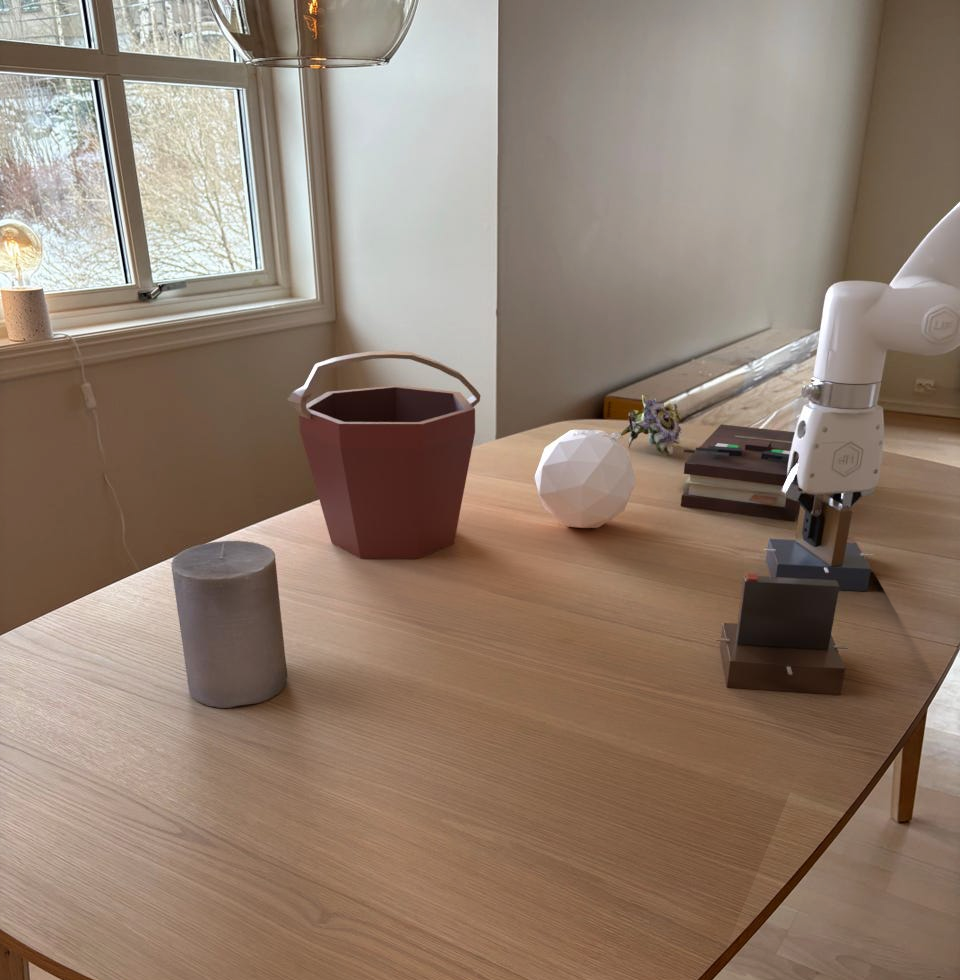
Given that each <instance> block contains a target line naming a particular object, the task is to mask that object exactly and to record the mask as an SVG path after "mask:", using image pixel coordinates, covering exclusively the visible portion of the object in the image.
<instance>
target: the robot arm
mask: <svg viewBox="0 0 960 980" xmlns="http://www.w3.org/2000/svg"><path fill="white" fill-rule="evenodd" d="M819 328H820V329H819V335H818V342H817V349H816V355H815V361H814V367H813V368H814V369H813V375H812V377H811V380H810V384H808V385H803V386H802V388H801V392H800V393H801V396H802V398H804V399H806V398H808V401H809V402H808V403H805V404H804V405H803V408H802V409H801V412H800V414H799V418H798V420H797V424H796V428H795V430H794V432H795V434H794V438H793V442H792V446H791V451H790V456H789V461H788V469H787V480H786V482H785V484H784V486H783V488H782V490H781V494H782V495H783V496H785V497H786V498H788V499H791V500H794V501H797V502H798V503H799V504H800V505H801V506H802V509H804V510H805V516H804V522H803V529H802V535H803V540H804V541H806V542H807V543H809V544H810V545H812V546H813V547H819V546H820V544H821V538H822V532H823V526H824V520H825V518H824V516H822V515H821V512H822V506H823V499H824V494H825V495H830V498H832V499H834V500H835V501H837V502H839V503H840V504H842V505H844V506H846V507H847V508H849V509H851V507H852V506H853V505H854V504H855V503H857V502H858V500H860V499H861V498H863V497H866V496H867V495H870V494H872V493H875V491H876V486H877V484H878V482H879V478H880V474H881V467H882V462H883V461H882V460H883V459H882V458H883V451H884V450H883V449H884V438H885V437H884V436H885V419H884V407H883V406H882V405H878V402H879V397H880V391H881V385H882V378H883V374H884V368H885V362H886V357H887V352H888V351H894V352H900V353H907V354H911V355H917V356H918V355H919V356H925V357H926V356H927V357H930V356H931V357H933V356H940V355H944V354H947V353H949V352H952V351H954V350H955V349H957V348H959V347H960V201H959V202H958V203H957V204H956V205H955V206H954V207H953V208H952V209H951V210H950V211H949V212H948V213H947V214H946V215H945V216H944V217H942V218H941V220H940V221H939V222H938V223H936V225H934V227H933V228H932V229H931V230H930V231H929V232H928V233H927V234H926V236H925V237H924V238H923V239H922V240H921V242H920V243H919V244H918V245H917V247H916V248H915V249H914V251H913V252H912V254H911V255H910V256H909V257H908V258H907V260H906V262H904V264H903V265H902V267H901V268H900V269H899V271H898V272H897V273H896V275H895V276H894V277H893V279H892V280H891V282H890V283H889V284H887V283H885V282H880V281H874V280H873V281H872V280H844V281H838V282H835V283H833V284H832V285H830V287H828V289H827V291H826V293H825V297H824V301H823V307H822V315H821V322H820V327H819ZM798 488H801V489H802V490H803V492H802V491H799V490H798Z"/></svg>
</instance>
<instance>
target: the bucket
mask: <svg viewBox="0 0 960 980" xmlns="http://www.w3.org/2000/svg"><path fill="white" fill-rule="evenodd" d="M378 359H398V360H400V359H401V360H411V361H413V362H417V363H420V364H422V365H426V366H429V367H431V368H433V369H436V370H439V371H441V372H443V373H445V374H446V375H448V376H451V377H453V378H455V379H457V380H459V382H461V384H462V385H463V386H464V387H466V388H467V389H468V391H469V392H470V394H471V396H469V397H468V398H466V397H465V396H464V395H463V394H462V393H461V392H460V391H452V390H445V389H443V390H442V389H432V388H426V387H425V388H424V387H415V386H405V385H396V384H395V385H385V386H375V387H373V386H372V387H365V388H354V389H344V390H342V389H341V390H332V391H326V392H324V393H323V394H321V395H319V396H318V397H315V398H313V400H311V401H308V400H309V398H311V396H312V395H313V394H314V393H315V390H316V388H317V387H318V384H319V382H320V381H321V379H322V377H323V375H324V373H325V371H328V370H331V369H334V368H338V367H341V366H345V365H349V364H352V363H357V362H362V361H370V360H378ZM286 401H287V402H288V404H289V405H290V406H291V408H292V409H293V410H294V411H295V413H296V414H297V415H298V421H299V422H298V423H299V432H300V437H301V440H302V444H303V446H304V450H305V454H306V457H307V461H308V464H309V467H310V472H311V475H312V479H313V482H314V486H315V489H316V493H317V496H318V499H319V503H320V507H321V510H322V514H323V518H324V521H325V525H326V528H327V531H328V535H329V538H330V542H331V544H333V545H335V546H336V547H338V548H340V549H342V550H343V551H346V552H347V553H349V554H351V555H353V556H355V557H357V558H358V559H362V560H363V559H364V560H365V559H366V560H367V559H368V560H418V559H420V558H422V557H425V556H427V555H429V554H432V553H434V552H437V551H439V550H441V549H444V548H446V547H448V546H449V547H450V546H451V545H454V543H455V541H456V540H455V539H456V534H457V529H458V525H459V519H460V513H461V508H462V503H463V497H464V493H465V489H466V488H465V487H466V482H467V477H468V472H469V467H470V461H471V457H472V452H473V451H472V450H473V446H474V440H475V435H476V408H475V407H476V406H477V404H478V403H480V401H481V394H480V393H479V391H478V390H477V389H476V388H475V387H474V386H473V384H471V383H470V381H468V379H466V378H465V377H464V375H463V374H461V372H460V371H458V370H456V369H454V368H451V367H449V366H447V365H445V364H443V363H441V362H440V361H437V360H435V359H432V358H429V357H427V356H424V355H421V354H417V353H415V352H412V351H401V350H373V351H372V350H371V351H370V350H369V351H363V352H355V353H350V354H343V355H339V356H336V357H331V358H328V359H325V360H322V361H320V362H317V363H315V364H314V366H313V368H312V370H311V372H310V374H309V375H308V378H307V379H306V381H305V383H304V384H303V386H301V387H298V388H296V389H295V390H293V391H292V392H291V393H290V394H289V396H288V397H287V399H286ZM307 401H308V402H307Z"/></svg>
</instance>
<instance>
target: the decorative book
mask: <svg viewBox="0 0 960 980" xmlns="http://www.w3.org/2000/svg"><path fill="white" fill-rule="evenodd" d="M794 434H795V431H790V430H789V431H787V430H778V429H770V428H769V429H768V428H760V427H750V426H741V425H731V424H730V425H729V424H720V425H719V426H718V427H717V428H716V429H715V430H714V431H713V432H712V433H711V434H710V436H709V437H707V439H706V440H705V441H704V442H703V443H702V444H701V445H700V446H699V447H696V448H695V449H683V451H682V453H686V454H691V456H689V457H688V459H687V460H686V461H684V468H683V474H684V475H688V477H687V478H686V480H684V483H687V484H689V486H688V488H687V489H686V490H685V491H683V493H682V494H681V499H680V507H684V508H685V507H686V508H692V509H699V510H707V511H713V512H720V513H721V512H722V513H728V512H729V514H735V513H737V515H743V516H750V515H751V517H758V518H765V519H774V520H781V521H786V522H787V521H788V522H796V521H797V518H798V517H799V511H800V504H799V503H798V502H797V501H794V500H791V499H788V498H786V497H785V496H783V495H782V494H781V490H782V488H783V486H784V484H785V482H786V480H787V469H788V461H789V456H790V451H791V446H792V442H793V438H794ZM798 490H799V491H803V490H802V489H801V488H798Z"/></svg>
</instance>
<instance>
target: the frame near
mask: <svg viewBox="0 0 960 980" xmlns="http://www.w3.org/2000/svg"><path fill="white" fill-rule="evenodd" d="M839 592H840V590H839V585H838V583H837V581H836V580H820V579H801V578H783V577H771V576H761V575H757V574H756V573H745V575H743V579H742V586H741V594H740V601H739V608H738V609H739V610H738V616H737V617H738V618H737V632H736V641H737V644H739V645H755V646H771V647H787V648H803V649H819V650H828V648H829V643H830V637H831V635H832V631H833V625H834V620H835V614H836V609H837V604H838V603H837V602H838V597H839Z"/></svg>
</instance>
